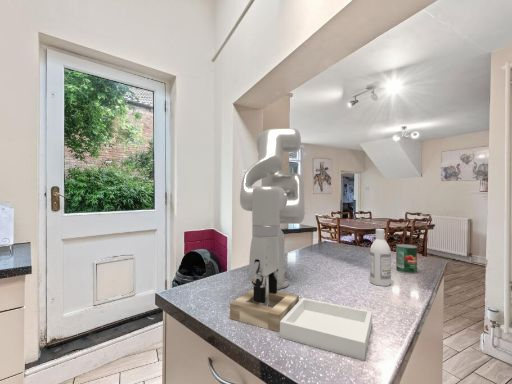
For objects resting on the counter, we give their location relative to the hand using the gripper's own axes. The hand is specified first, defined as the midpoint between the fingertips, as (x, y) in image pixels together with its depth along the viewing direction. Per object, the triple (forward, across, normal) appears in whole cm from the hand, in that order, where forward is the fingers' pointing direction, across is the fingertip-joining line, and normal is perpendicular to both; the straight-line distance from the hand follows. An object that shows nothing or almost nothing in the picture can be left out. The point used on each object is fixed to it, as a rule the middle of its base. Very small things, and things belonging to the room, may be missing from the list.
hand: (265, 296), depth 71 cm
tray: (+5, +1, +17) cm, 18 cm away
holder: (+5, 0, 0) cm, 5 cm away
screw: (+5, 0, 0) cm, 5 cm away
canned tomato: (+5, -66, +35) cm, 75 cm away
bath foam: (+5, -43, +26) cm, 50 cm away
